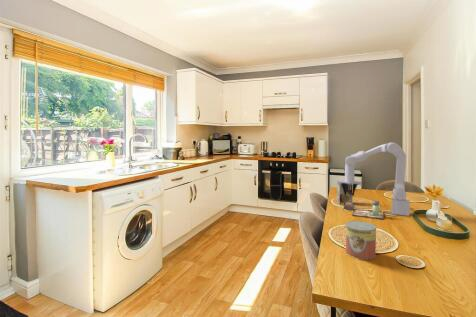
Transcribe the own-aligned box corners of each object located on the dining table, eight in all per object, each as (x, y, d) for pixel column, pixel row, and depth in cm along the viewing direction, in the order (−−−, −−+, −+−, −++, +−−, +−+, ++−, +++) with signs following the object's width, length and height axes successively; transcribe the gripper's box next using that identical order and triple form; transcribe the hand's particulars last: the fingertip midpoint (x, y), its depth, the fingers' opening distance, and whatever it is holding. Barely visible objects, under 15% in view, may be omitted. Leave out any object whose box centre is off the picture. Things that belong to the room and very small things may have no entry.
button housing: (354, 208, 175) (354, 204, 175) (353, 210, 170) (353, 206, 170) (344, 207, 178) (344, 203, 178) (343, 209, 173) (343, 205, 173)
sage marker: (378, 214, 158) (379, 201, 158) (378, 215, 155) (379, 202, 155) (372, 213, 160) (372, 200, 159) (372, 215, 157) (372, 201, 156)
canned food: (342, 255, 108) (342, 226, 107) (349, 245, 117) (350, 219, 116) (372, 262, 101) (373, 232, 100) (378, 252, 110) (378, 224, 109)
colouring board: (383, 214, 162) (383, 212, 161) (383, 219, 151) (383, 217, 151) (354, 210, 170) (354, 209, 170) (352, 215, 159) (352, 214, 159)
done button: (352, 206, 175) (352, 203, 175) (351, 207, 172) (351, 204, 172) (346, 205, 176) (346, 202, 176) (346, 206, 174) (346, 203, 173)
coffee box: (349, 202, 192) (349, 180, 191) (352, 204, 186) (352, 181, 185) (336, 201, 193) (336, 180, 192) (339, 204, 187) (339, 181, 186)
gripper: (336, 174, 173) (336, 195, 174) (361, 176, 165) (360, 197, 166) (338, 173, 179) (338, 193, 180) (362, 174, 171) (361, 195, 172)
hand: (349, 195), depth 173 cm, fingers open, 4 cm apart
